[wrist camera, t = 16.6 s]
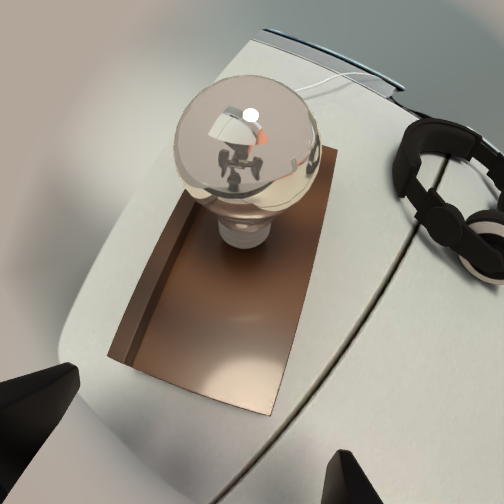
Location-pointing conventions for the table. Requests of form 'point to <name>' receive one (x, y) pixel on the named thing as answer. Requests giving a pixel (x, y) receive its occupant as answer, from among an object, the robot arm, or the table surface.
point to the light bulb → (247, 154)
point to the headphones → (444, 214)
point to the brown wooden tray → (224, 301)
